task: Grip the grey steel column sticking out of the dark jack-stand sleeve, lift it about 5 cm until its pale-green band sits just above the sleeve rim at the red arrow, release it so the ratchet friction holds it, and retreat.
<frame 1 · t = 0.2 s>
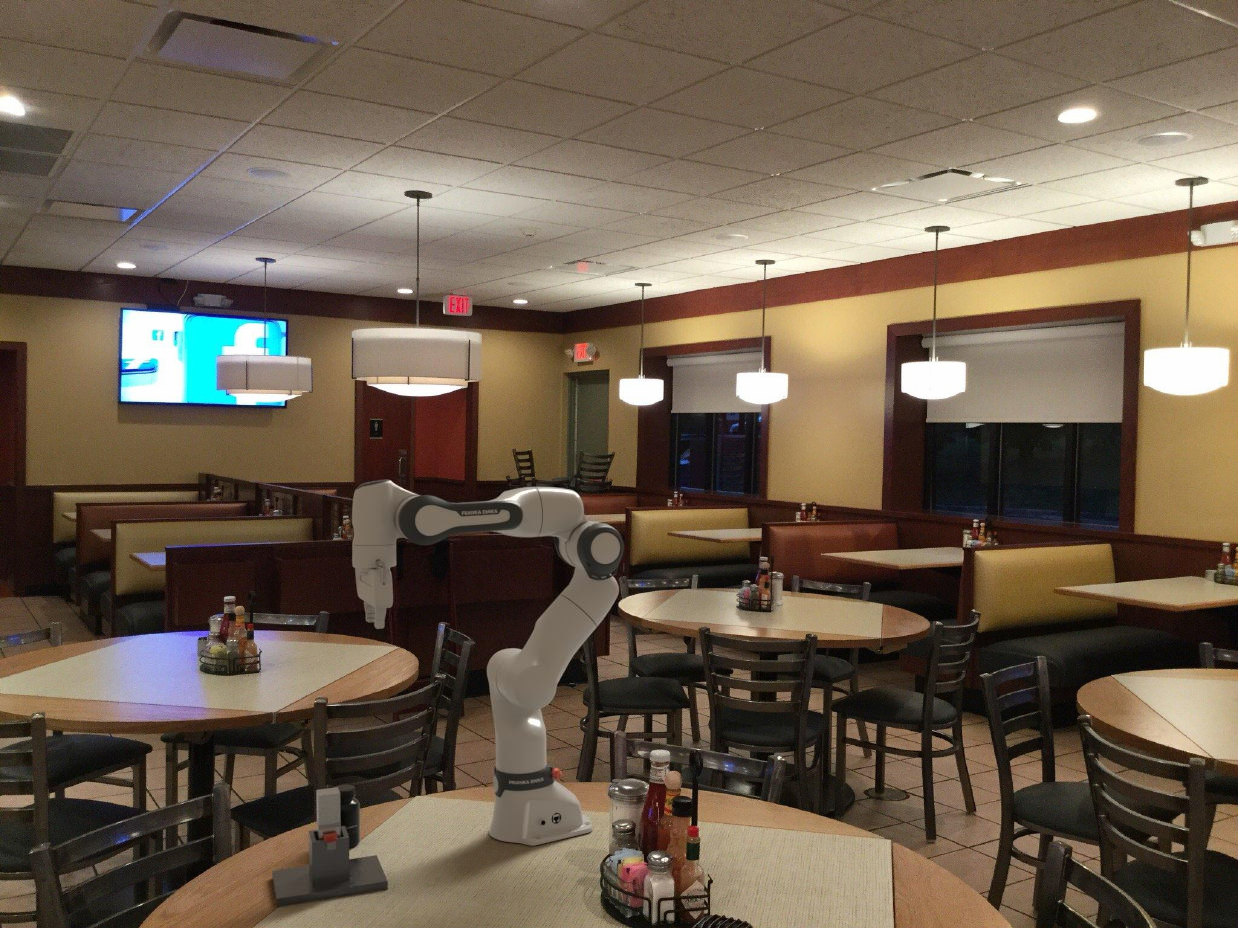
hand: (374, 624, 211), 47 cm above the table, fingers open, 8 cm apart
column: (328, 832, 196), point 10 cm above the table, slide at 0.0 cm
supplement bottle: (343, 845, 216), on the table
stand: (329, 883, 196), on the table
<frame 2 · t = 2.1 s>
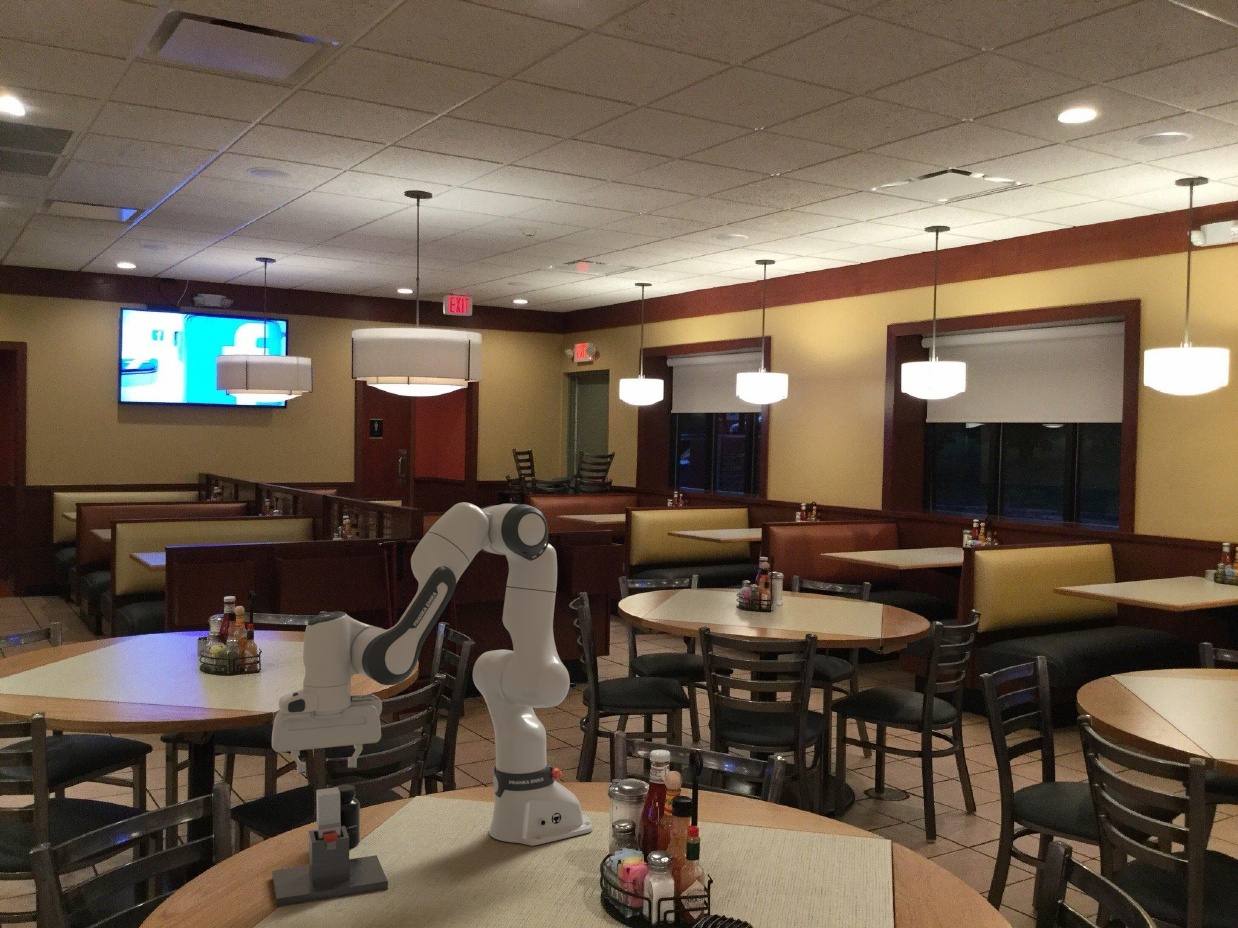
hand: (327, 769, 196), 22 cm above the table, fingers open, 8 cm apart
nothing on the table moved.
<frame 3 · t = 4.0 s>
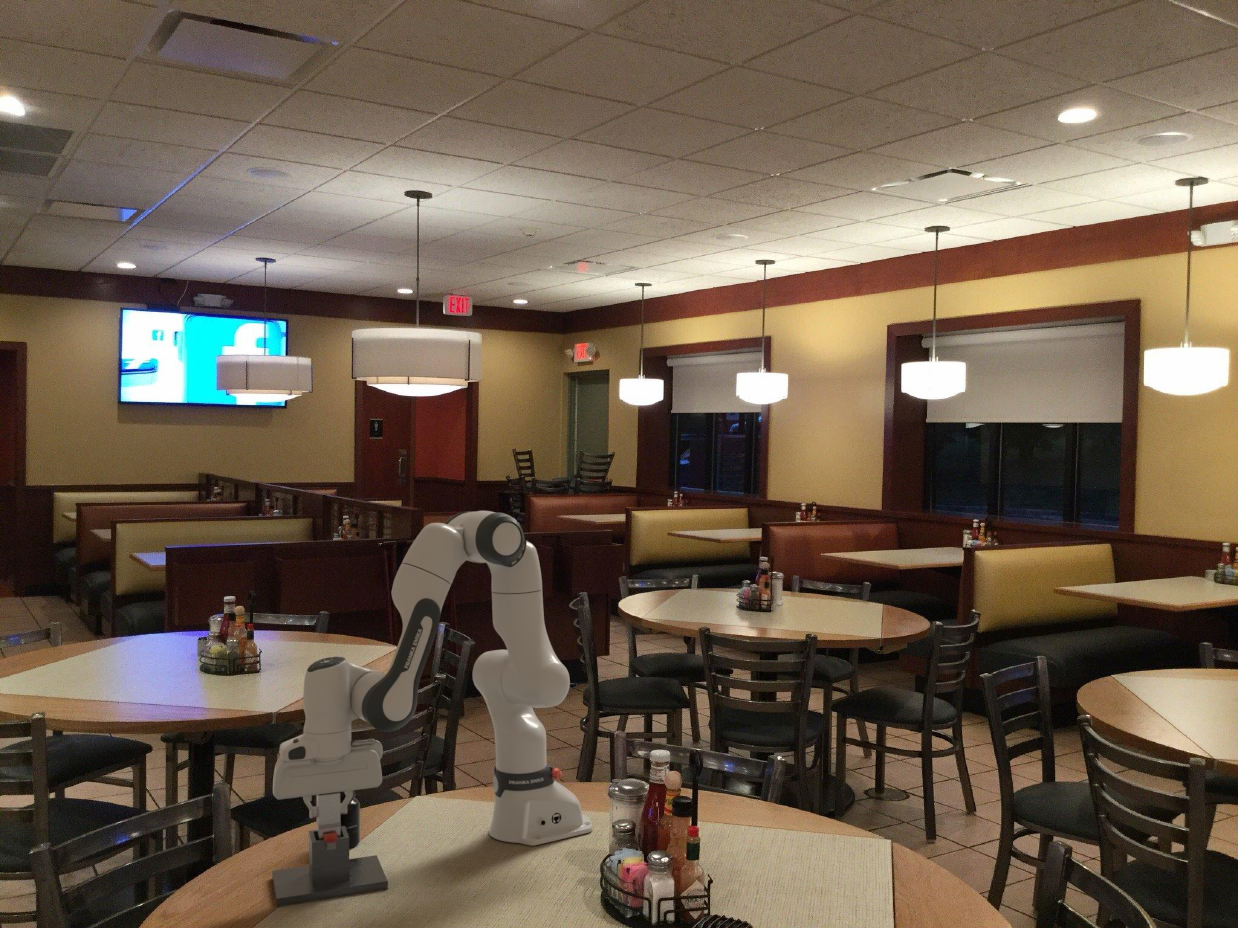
hand: (328, 815, 196), 13 cm above the table, fingers closed on column, 4 cm apart
column: (328, 832, 196), point 10 cm above the table, slide at 0.0 cm, touching gripper
everything else where it was.
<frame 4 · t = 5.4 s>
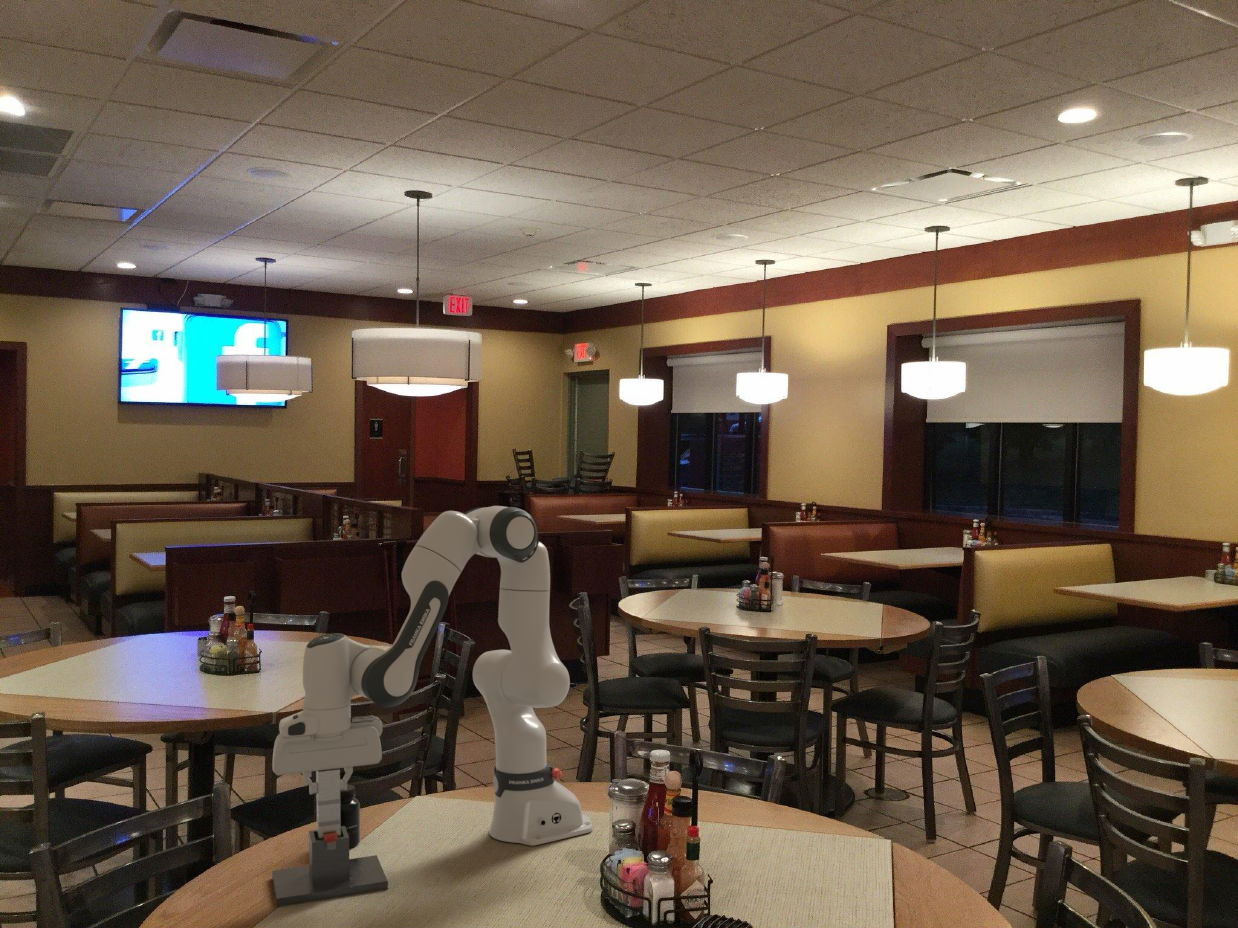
hand: (328, 791, 196), 18 cm above the table, fingers closed on column, 4 cm apart
column: (328, 809, 196), point 14 cm above the table, slide at 4.5 cm, touching gripper
everything else where it was.
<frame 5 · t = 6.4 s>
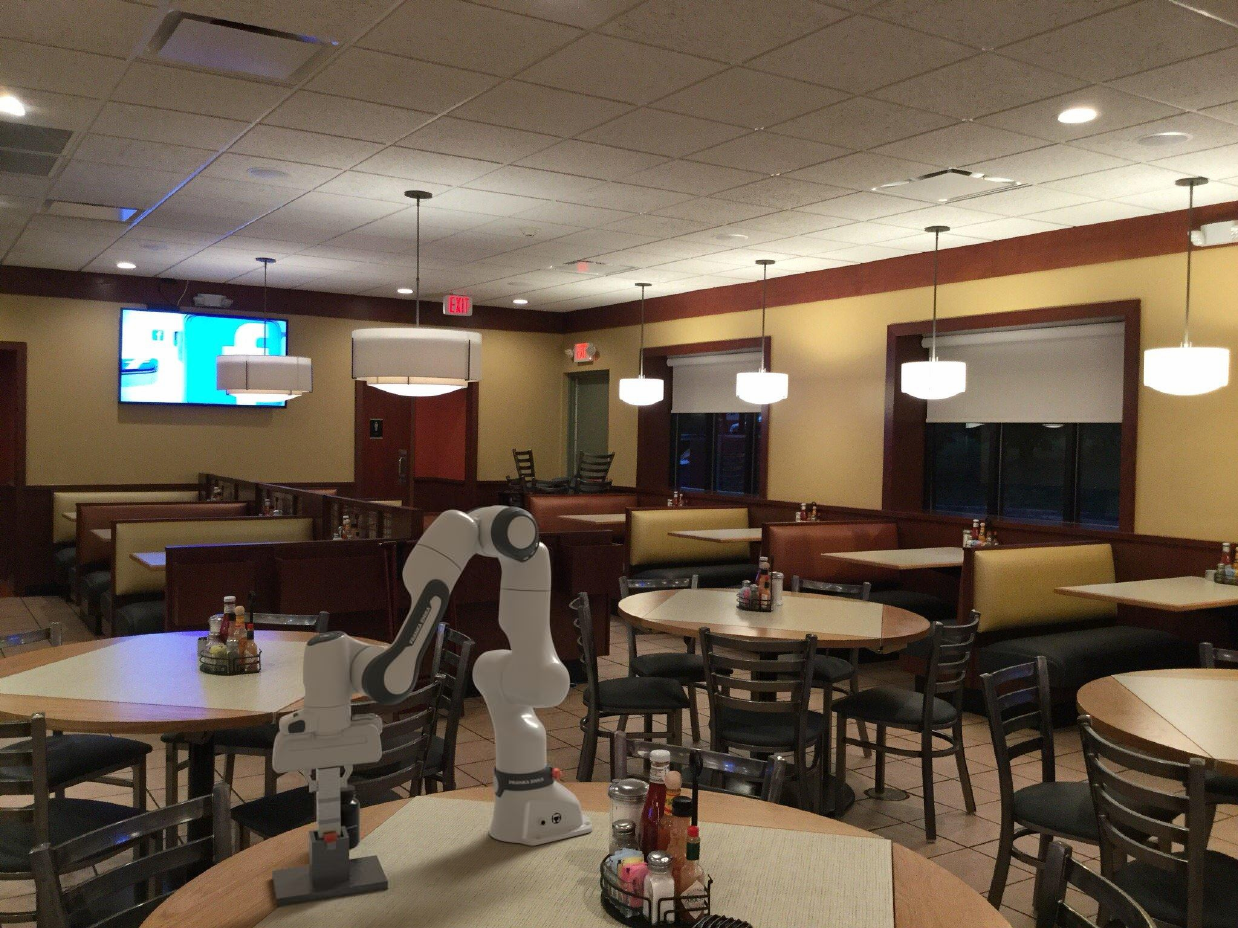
hand: (328, 789, 196), 18 cm above the table, fingers closed on column, 4 cm apart
column: (328, 807, 196), point 15 cm above the table, slide at 4.9 cm, touching gripper
everything else where it was.
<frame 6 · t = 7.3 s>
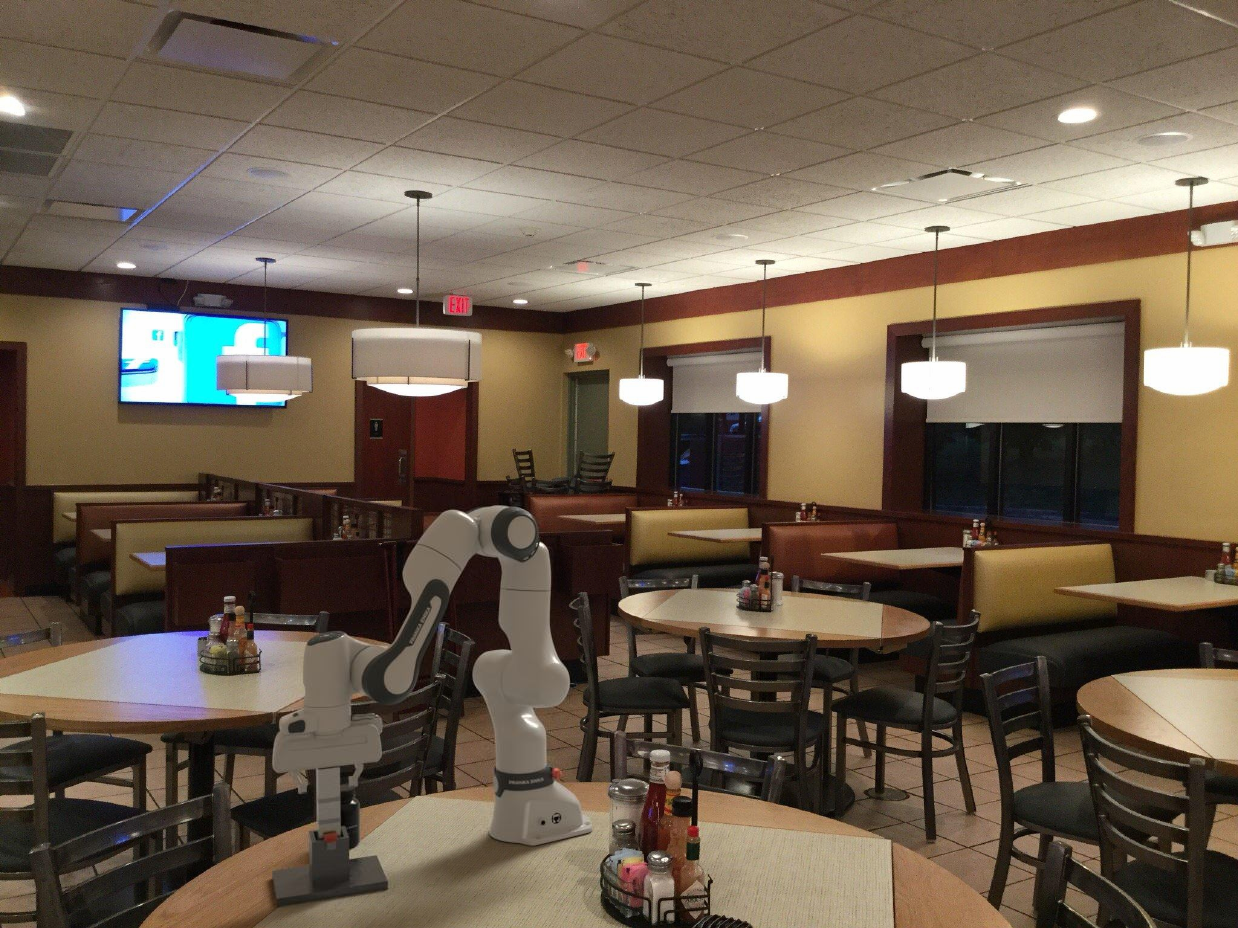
hand: (328, 789, 196), 18 cm above the table, fingers open, 8 cm apart
column: (328, 807, 196), point 15 cm above the table, slide at 4.9 cm
everything else where it was.
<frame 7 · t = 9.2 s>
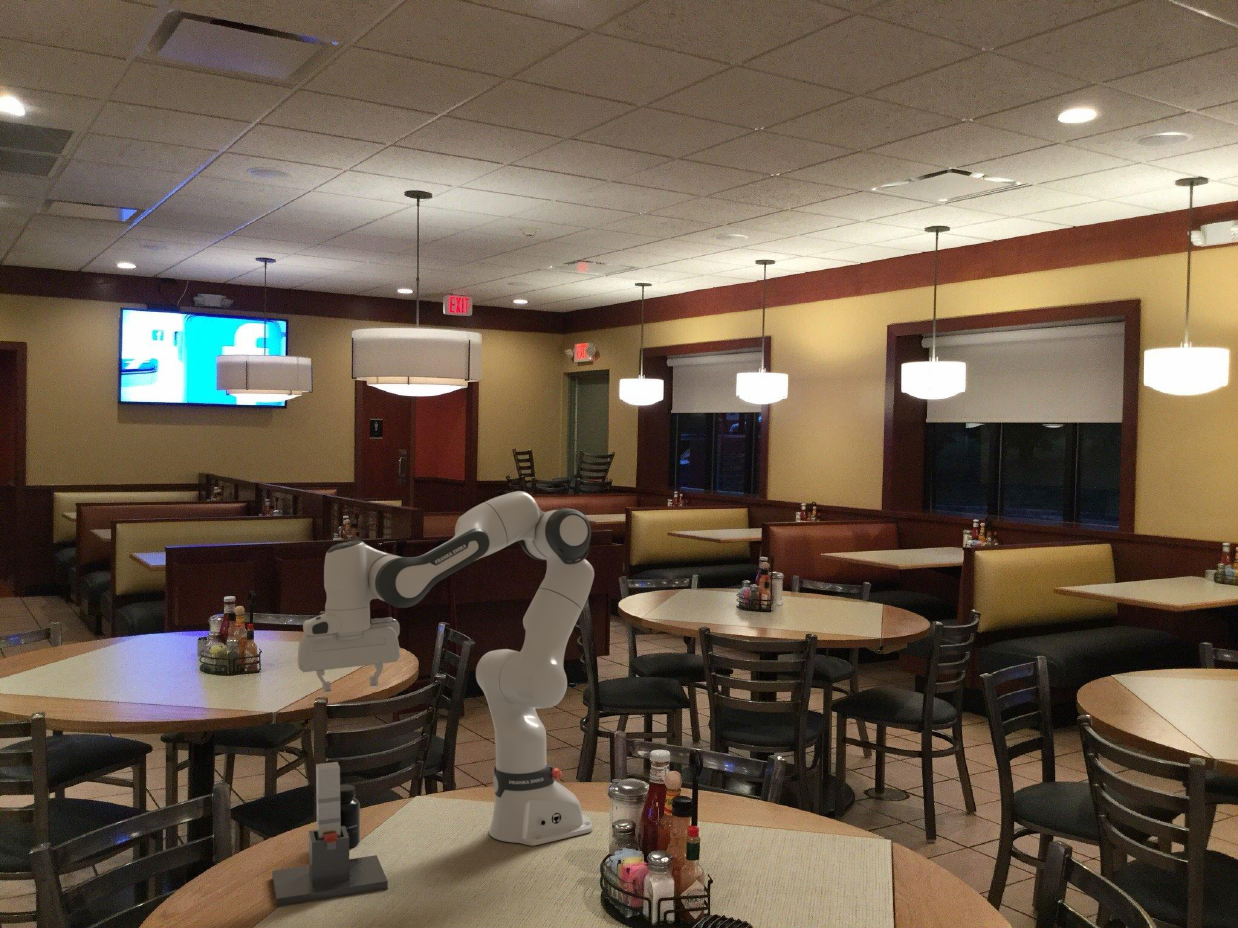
hand: (350, 688, 209), 35 cm above the table, fingers open, 8 cm apart
nothing on the table moved.
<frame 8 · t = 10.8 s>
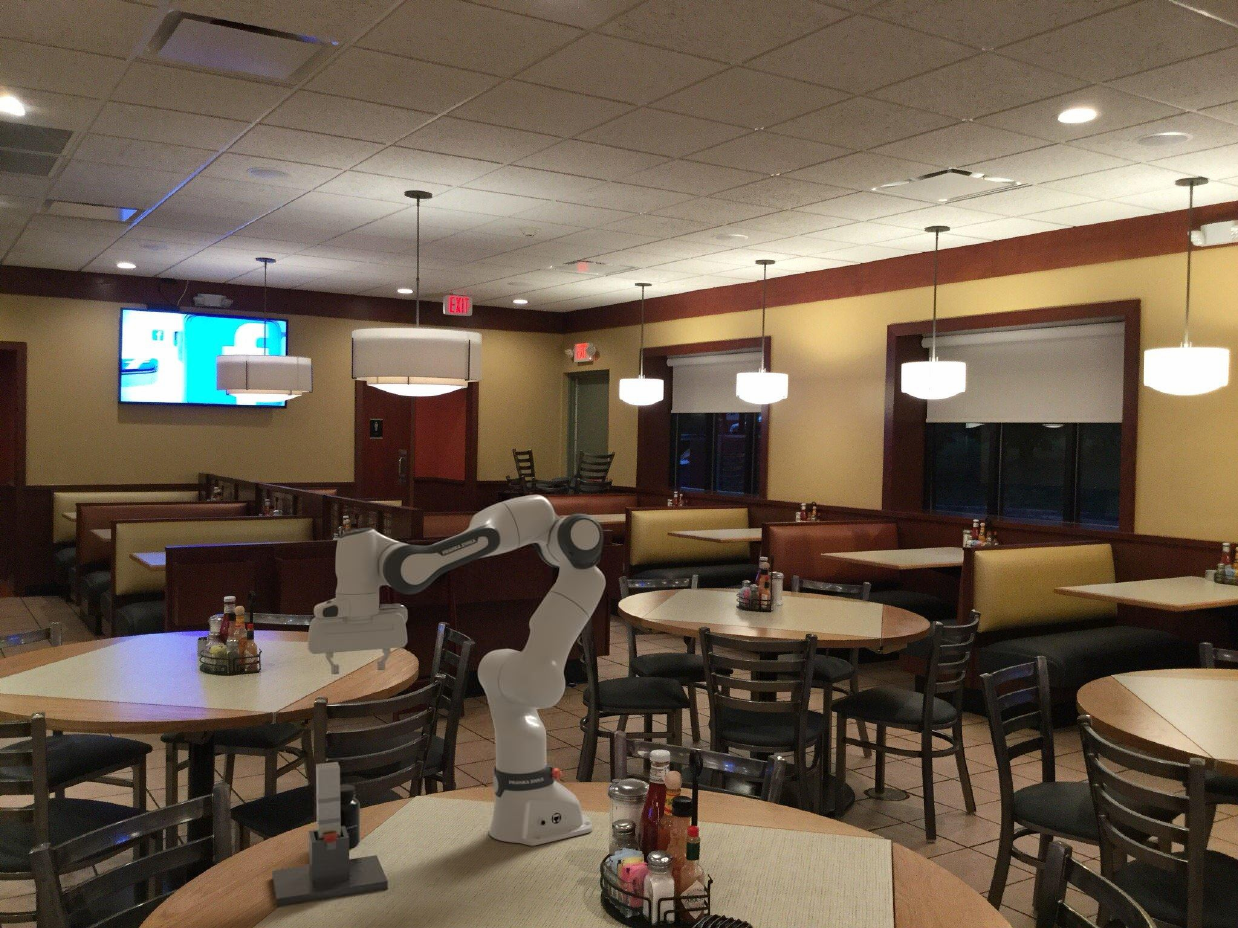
hand: (358, 671, 214), 37 cm above the table, fingers open, 8 cm apart
nothing on the table moved.
at the end: column slide at 4.9 cm; the gripper is holding nothing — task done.
